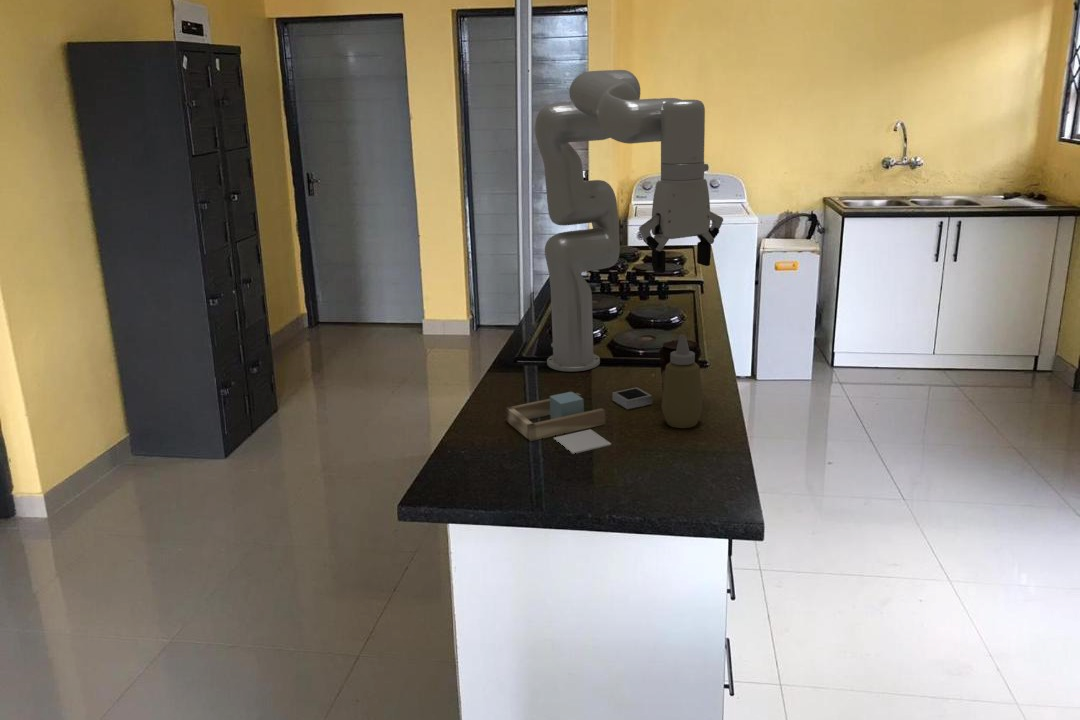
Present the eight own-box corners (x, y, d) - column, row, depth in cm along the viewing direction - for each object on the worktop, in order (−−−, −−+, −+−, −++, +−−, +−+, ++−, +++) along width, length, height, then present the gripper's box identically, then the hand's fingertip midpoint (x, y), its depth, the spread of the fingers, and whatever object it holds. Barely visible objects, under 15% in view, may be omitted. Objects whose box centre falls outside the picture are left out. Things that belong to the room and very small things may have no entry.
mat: (553, 439, 164) (553, 437, 164) (590, 430, 167) (590, 429, 167) (572, 454, 157) (572, 452, 157) (611, 445, 161) (611, 443, 160)
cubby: (506, 421, 174) (506, 407, 173) (578, 406, 180) (577, 392, 179) (530, 441, 164) (529, 426, 163) (605, 424, 170) (605, 410, 169)
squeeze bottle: (653, 420, 171) (653, 333, 165) (688, 413, 174) (689, 326, 168) (675, 434, 164) (675, 343, 158) (711, 426, 167) (713, 337, 161)
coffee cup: (699, 412, 174) (700, 350, 170) (657, 411, 176) (657, 349, 172) (700, 397, 182) (701, 338, 178) (660, 395, 184) (660, 337, 180)
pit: (612, 401, 182) (612, 392, 181) (637, 396, 184) (637, 387, 184) (627, 410, 177) (627, 401, 176) (652, 404, 179) (652, 395, 179)
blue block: (550, 419, 174) (549, 396, 173) (572, 414, 176) (571, 391, 175) (561, 427, 170) (560, 403, 168) (584, 422, 172) (583, 399, 170)
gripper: (709, 167, 159) (708, 259, 165) (629, 175, 153) (630, 270, 158) (735, 170, 153) (732, 265, 158) (652, 178, 146) (652, 278, 151)
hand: (681, 268), depth 158 cm, fingers open, 9 cm apart
